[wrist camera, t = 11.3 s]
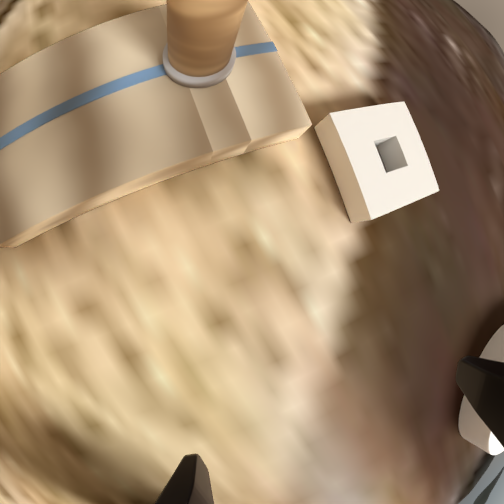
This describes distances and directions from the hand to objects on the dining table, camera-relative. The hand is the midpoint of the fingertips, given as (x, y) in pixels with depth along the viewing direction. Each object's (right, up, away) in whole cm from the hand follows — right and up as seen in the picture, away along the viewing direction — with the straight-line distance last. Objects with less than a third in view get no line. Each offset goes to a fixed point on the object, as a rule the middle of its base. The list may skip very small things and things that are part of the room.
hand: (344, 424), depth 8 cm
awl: (-6, +16, +10) cm, 20 cm away
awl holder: (+6, +12, +12) cm, 18 cm away
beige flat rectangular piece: (-11, +15, +9) cm, 20 cm away
